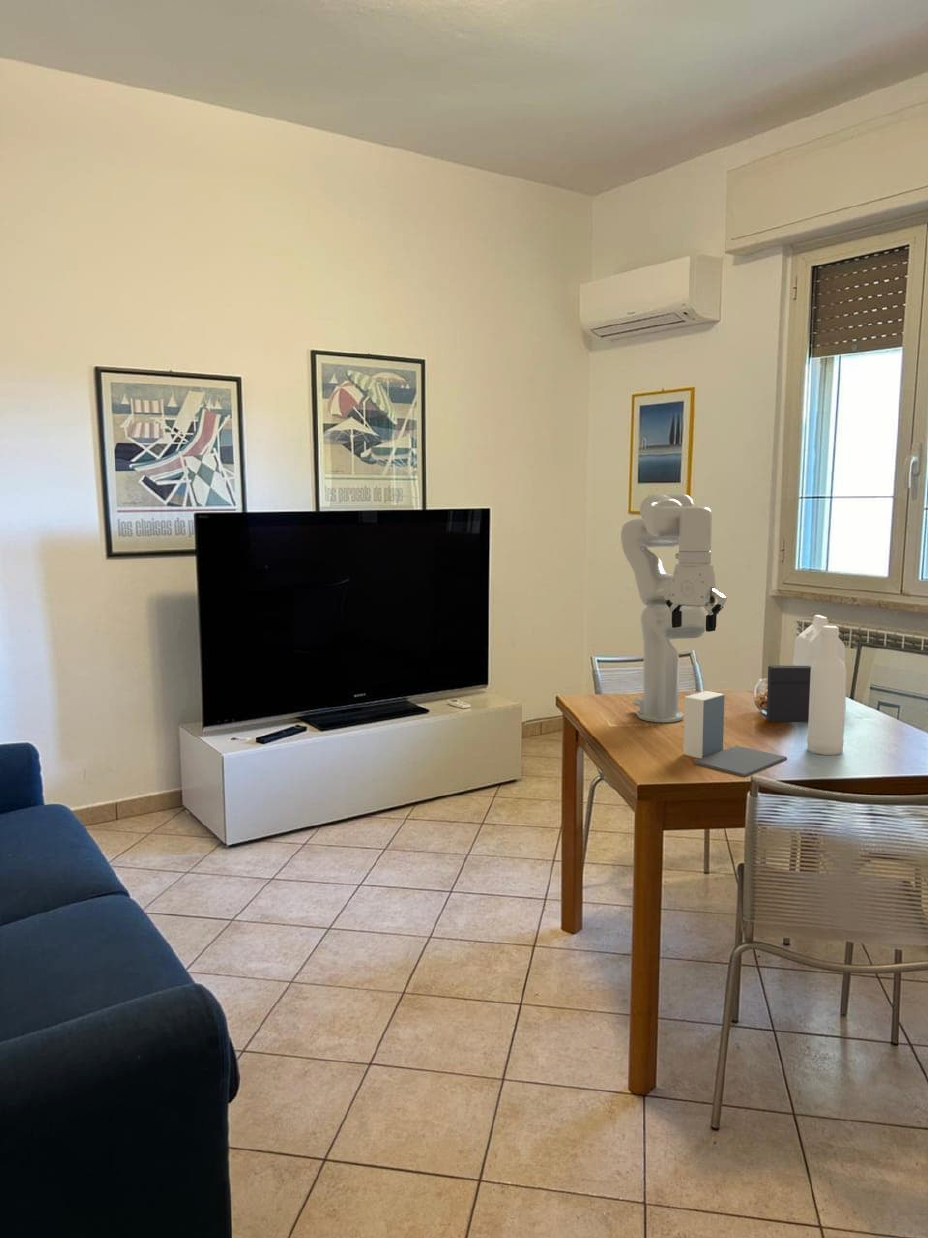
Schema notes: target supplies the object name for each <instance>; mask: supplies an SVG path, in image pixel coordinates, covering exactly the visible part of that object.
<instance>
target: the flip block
mask: <svg viewBox="0 0 928 1238" xmlns="http://www.w3.org/2000/svg"><path fill="white" fill-rule="evenodd" d="M725 699H726V695H725V693H719V692H716V691H715V692H714V691H710V690H704V691H701V692H697V693H693V694H690V695H687V696H684V711H683V712H684V713H683V714H684V718H683V722H684V723H683V755H685V756H688V757H691V758H692V757H693V758H696V759H701V758H703V757H706V756H709V755H712V754H714V753H717V752H720V751H723V750H724V740H725V739H724V736H725V735H724V734H725V731H724V730H725V705H726V704H725V702H726V700H725Z"/></svg>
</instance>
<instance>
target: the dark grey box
mask: <svg viewBox="0 0 928 1238" xmlns="http://www.w3.org/2000/svg"><path fill="white" fill-rule="evenodd" d="M767 667H768V668H767V691H766V692H767V693H766V696H767V697H766V720H768V721H769V722H770V723H771V722H773V723H775V722H777V723H782V722H783V723H808V721H809V698H810V674H811V667H810V666H793V665H768V666H767Z"/></svg>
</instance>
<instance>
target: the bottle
mask: <svg viewBox="0 0 928 1238" xmlns="http://www.w3.org/2000/svg"><path fill="white" fill-rule="evenodd" d="M821 634H822V640H821V656H820V657H818V658H817V659H816V660H815V661H814V662H813V665H812V667H811V674H810V698H809V721H808V722H807V723H808V726H807V727H808V728H807V738H806V741H807V742H806V743H807V745H806V747H807V748H806V749H807V751H809V752H811V753H814V754H817V755H822V756H838V755H841V754H842V753H843V751H844V749H843V748H844V732H845V731H844V729H845V728H844V726H845V710H846V709H845V696H846V688H847V687H846V686H847V668H846V664H845V665H844V663H843V662H842V661H841V660H840V659H839V658H838V657H837V655H838V638H839V636H840V628H839V627H838V626H836V625H828V626H823V627H822V631H821Z"/></svg>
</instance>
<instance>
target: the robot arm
mask: <svg viewBox="0 0 928 1238" xmlns="http://www.w3.org/2000/svg"><path fill="white" fill-rule="evenodd" d="M639 513H640V516H641V518H636V519H635V518H633V519H630V520H628V521H626V522H625V523H624V524H623V525H622V527H621V532H620V540H621V541H620V542H621V546H622V550H623V553H624V556H625V558H626V560H627V561H628V563H629V565H630V567H631V569H632V571H633V573H634V578H635V582H636V586H637V590H638V594H639V598H640V601H641V602H642V605H644V606H645V608H643V610H642V612H641V615H640V628H641V634H642V641H643V642H642V643H643V671H642V672H643V675H642V676H643V678H642V679H643V680H642V681H643V683H642V684H643V685H642V686H643V690H642V693H643V694H642V698H640V697H635V698H634V701H632V705H633V706H635V707H638V708H639V710H637V712H636V715H637V718H639V719H640V720H643V721H647V722H651V723H666V724H667V723H675V722H679V721H682V720H684V713H683V712H682V711H680V710H679V684H680V683H679V682H680V681H679V679H680V677H679V675H680V673H679V672H680V670H679V669H680V655H679V652H678V650H677V649H676V647H675V646H674V645H673V644H672V642H671V640H677V639H682V640H683V639H697V638H700V637H703V635H704V634H705V633H706V632H708V633H709V632H715V631H716V628H717V615H719V614H720V612H721V611H722V609H724V606H725V604H726V602H727V599H728V598H727V596H725V595H724V594H723V593H721V592H719V591H718V590H717V588H716V587H717V586H716V575H715V569H714V565H713V564H712V528H713V527H712V526H713V523H712V521H713V512H712V510H711V509H710V508H709V507H706V506H704V507H703V506H695V504H694V501H693V499H692V497H690V496H689V495H687V494H685V493H657V494H656V493H655V494H650V495H648V496H647V497H645V498H644V499H643V500H642V501H641V502H640V505H639ZM674 547H678V553H676V554H675V556H674V557H675V559H677V560H678V563H675V566H674V570H673V573H667V572H666V571H665V566H664V563H663V561H662V560H661V559H660V558H659V557H658V556H657V555H656V554H655V553H654V552H653V551H651V550H650V549H648V548H652V549H653V548H674ZM716 600H717V603H716ZM715 603H716V604H715ZM705 611H706V612H705ZM706 613H707V614H706Z"/></svg>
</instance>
